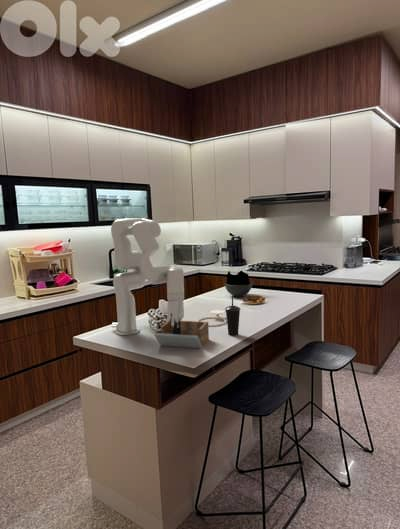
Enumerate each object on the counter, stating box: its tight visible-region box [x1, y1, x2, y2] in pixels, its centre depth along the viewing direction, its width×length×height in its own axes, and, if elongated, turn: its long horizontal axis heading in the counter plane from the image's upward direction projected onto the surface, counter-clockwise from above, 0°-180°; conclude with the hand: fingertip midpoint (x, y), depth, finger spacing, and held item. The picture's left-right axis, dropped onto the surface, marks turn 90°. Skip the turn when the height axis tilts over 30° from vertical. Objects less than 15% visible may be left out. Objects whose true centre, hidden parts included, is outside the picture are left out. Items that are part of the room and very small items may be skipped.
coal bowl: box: [224, 270, 253, 298], centre depth 270 cm, size 20×20×19 cm
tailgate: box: [154, 332, 203, 349], centre depth 167 cm, size 20×1×9 cm
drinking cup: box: [224, 295, 241, 337], centre depth 184 cm, size 8×8×20 cm
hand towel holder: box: [196, 309, 227, 328], centre depth 210 cm, size 17×4×21 cm
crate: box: [160, 319, 210, 348], centre depth 176 cm, size 20×11×9 cm, turn 73°
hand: (177, 335), depth 166 cm, fingers closed
